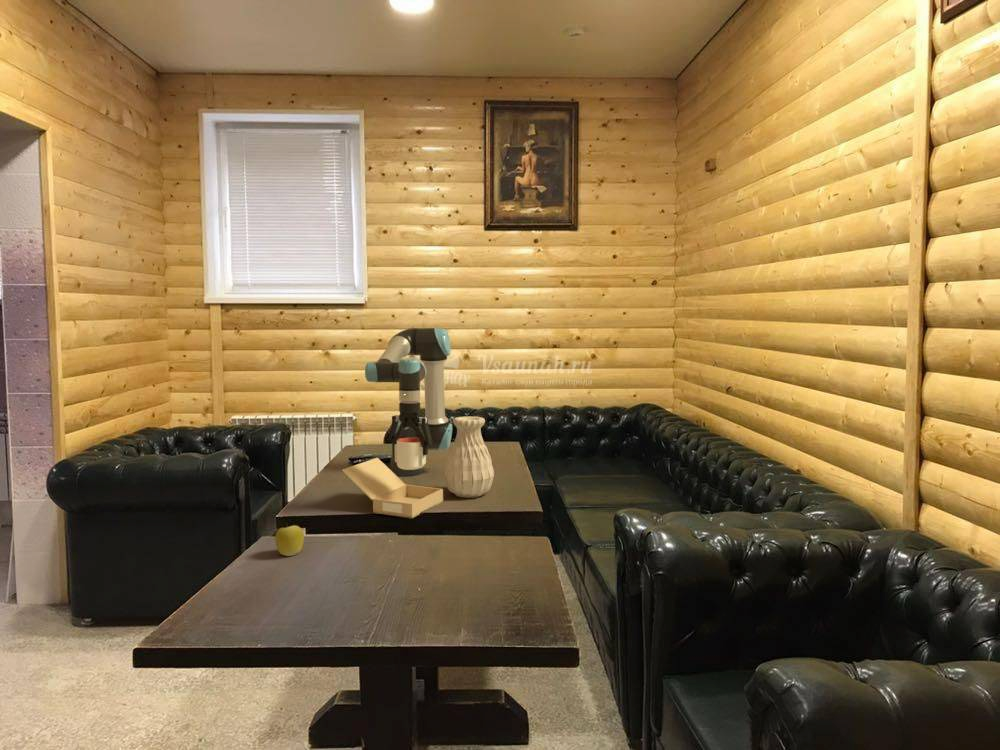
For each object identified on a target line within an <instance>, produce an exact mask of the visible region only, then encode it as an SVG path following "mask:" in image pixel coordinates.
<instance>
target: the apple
mask: <svg viewBox="0 0 1000 750" xmlns="http://www.w3.org/2000/svg"><path fill="white" fill-rule="evenodd" d="M285 524H286V527H280V528H279V529H277V531H276V533H275V536H274V541H275V546H276V548H277V551H278V553H279V554H280V555H282V556H286V557H292V556H295V555H297V554H299V553H300V552H301V551H302V549H303V546H304V542H305V537H304V536H305V535H304V532H303V529H302V528H301V527H300V526H299V525H295V524H293V525H290V526H288V523H287V522H285Z"/></svg>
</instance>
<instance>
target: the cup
mask: <svg viewBox="0 0 1000 750" xmlns="http://www.w3.org/2000/svg"><path fill="white" fill-rule="evenodd" d="M421 446H422V444H421V442H420V440H419V438H402V439H398V440H397V466H398V467H399V468H401V469H405V470H414V469H420V468H422V469H423V467H424V466H425V464H423V465H420V447H421Z"/></svg>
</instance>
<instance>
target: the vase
mask: <svg viewBox="0 0 1000 750" xmlns="http://www.w3.org/2000/svg"><path fill="white" fill-rule="evenodd" d="M485 422H486V420H485V418H484V417H480V416H468V415H467V416H458V417H455V418H454V417H453V419H452V423H453V425H454V426H455V427H456V435H455V439H454V441H453V444H452V445H451V446H450V449H449V453H448V454H447V458H446V462H445V468H444V472H443V479H444V482H445V486H446V488H447V489H448V491H449V492H451V493H452V494H454V495H455V496H456V497H459V498H465V499H468V498H471V499H473V498H478V497H481V496H483V495H484V494H486V493H487V492H488V491H489V490H490V489H491V488H492V484H493V481H494V478H495V472H494V471H495V470H494V467H493V463H492V462H493V461H492V457H491V455H490V453H489V450H488V449H489V448H488V447H487V445H486V444H485V441H484V439H483V436H482V431H481V429H482V428H483V426H484V425H485Z"/></svg>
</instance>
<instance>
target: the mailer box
mask: <svg viewBox="0 0 1000 750" xmlns="http://www.w3.org/2000/svg"><path fill="white" fill-rule="evenodd" d="M442 503H444V488H438V487H429V486H428V487H427V486H420V485H413V484H406V485H404V486H402V487H400V488H397V489H395V490H393V491H390V492H388V493H386V494H383V495H381V496H379V497H376V498H374V499H373V500H372V513H374V514H380V515H386V516H394V517H399V518H407V519H414V518H415V517H417V516H420V515H421V514H422V513H421V512H422V511H424V510H427V509H429V508H431V507H433V508H434V506H435V507H437V506H438V505H441V504H442ZM431 509H432V508H431ZM429 510H430V509H429ZM427 511H428V510H427ZM420 513H421V514H420Z"/></svg>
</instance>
